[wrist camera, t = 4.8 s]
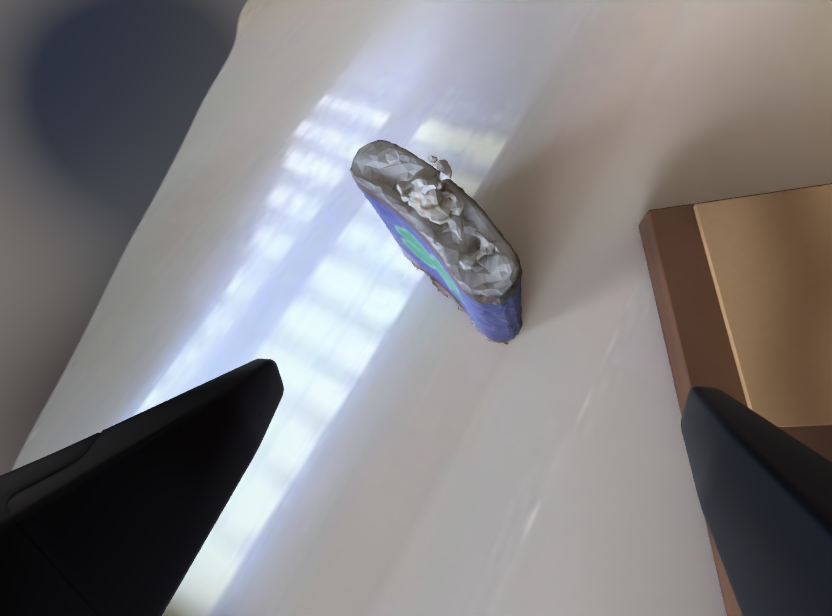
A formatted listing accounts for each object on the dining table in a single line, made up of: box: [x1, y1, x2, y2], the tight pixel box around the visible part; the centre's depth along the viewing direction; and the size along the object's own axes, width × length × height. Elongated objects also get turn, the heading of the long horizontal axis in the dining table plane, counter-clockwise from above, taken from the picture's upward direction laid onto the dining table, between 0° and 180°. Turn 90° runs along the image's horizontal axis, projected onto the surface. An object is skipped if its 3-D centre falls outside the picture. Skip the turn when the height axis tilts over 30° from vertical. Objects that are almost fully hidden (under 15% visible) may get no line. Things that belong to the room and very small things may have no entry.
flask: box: [350, 140, 522, 344], centre depth 19 cm, size 9×3×11 cm, turn 40°
